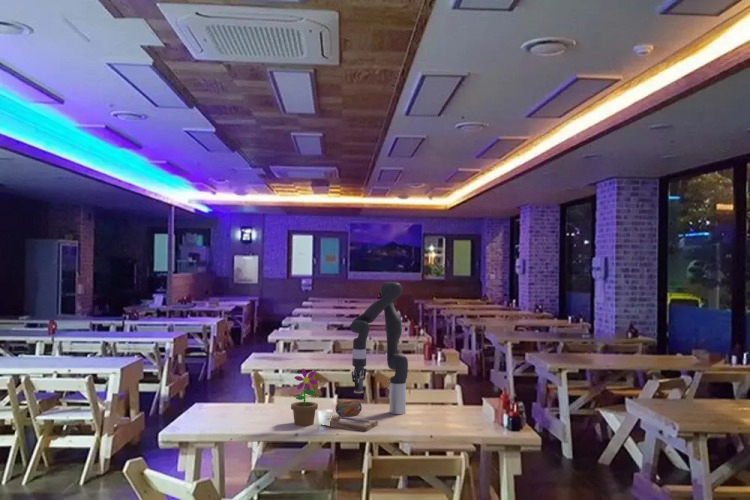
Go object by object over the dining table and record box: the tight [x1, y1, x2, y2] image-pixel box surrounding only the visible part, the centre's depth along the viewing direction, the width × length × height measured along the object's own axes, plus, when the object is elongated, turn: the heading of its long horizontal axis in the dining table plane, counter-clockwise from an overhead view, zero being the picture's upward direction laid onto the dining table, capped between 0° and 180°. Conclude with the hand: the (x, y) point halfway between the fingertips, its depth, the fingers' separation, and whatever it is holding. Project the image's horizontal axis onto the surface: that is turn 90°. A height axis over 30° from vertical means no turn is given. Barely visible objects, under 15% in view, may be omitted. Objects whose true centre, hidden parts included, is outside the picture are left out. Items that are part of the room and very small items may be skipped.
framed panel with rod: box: [330, 414, 379, 432], centre depth 347 cm, size 14×26×2 cm, turn 65°
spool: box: [353, 376, 364, 394], centre depth 357 cm, size 5×5×9 cm
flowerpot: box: [290, 368, 319, 427], centre depth 349 cm, size 14×14×30 cm
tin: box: [335, 399, 363, 417], centre depth 369 cm, size 15×3×8 cm, turn 112°
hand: (358, 388), depth 357 cm, fingers closed on spool, 4 cm apart
